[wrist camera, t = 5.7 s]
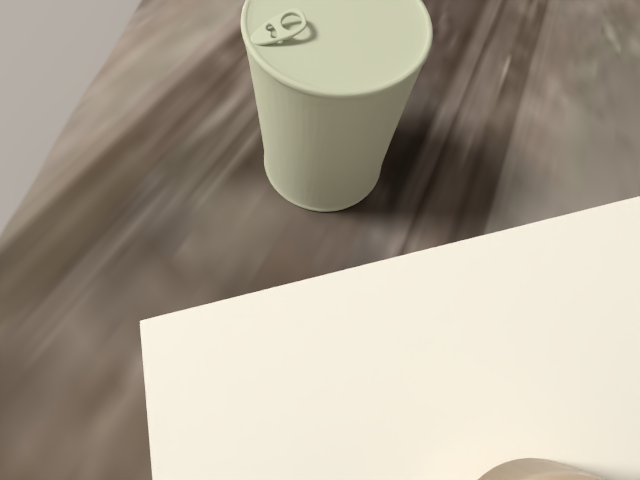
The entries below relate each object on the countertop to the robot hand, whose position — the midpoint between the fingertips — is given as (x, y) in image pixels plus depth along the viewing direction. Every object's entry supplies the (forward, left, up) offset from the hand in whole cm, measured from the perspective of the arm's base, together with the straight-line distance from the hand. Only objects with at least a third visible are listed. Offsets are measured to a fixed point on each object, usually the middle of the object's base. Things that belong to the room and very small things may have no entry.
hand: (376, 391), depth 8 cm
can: (+16, -3, -14) cm, 21 cm away
